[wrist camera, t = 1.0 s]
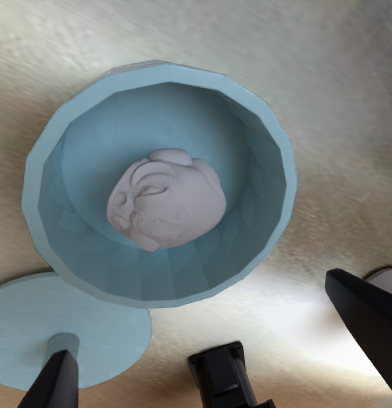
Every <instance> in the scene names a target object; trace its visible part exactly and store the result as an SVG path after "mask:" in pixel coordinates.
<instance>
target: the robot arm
mask: <svg viewBox="0 0 392 408" xmlns="http://www.w3.org/2000/svg"><path fill="white" fill-rule="evenodd" d="M325 291H326V293H327V295H328V297H329V298H330V300H331V302H332V303H333V305H334V307H335V308H336V310H337V312H338V313H339V315H340V317H341V319H342V320H343V322H344V324H345V325H346V327H347V329H348V330H349V332H350V333H351V335H352V336H353V338H354V339H355V341H356V342H357V343H358V345H359V346H360V347H361V349H362V350H363V351H364V353H365V354H366V356H367V357H368V358H369V360H370V361H371V362H372V364H373V365H374V367H375V368H376V369H377V371H378V372H379V373H380V375H381V376H382V378H383V379H384V380H385V382H386V383H387V384H388V386H389V387H390V388H391V390H392V294H391V293H389V292H387V291H385V290H383V289H381V288H379V287H377V286H375V285H373V284H371V283H369V282H367V281H365V280H363V279H361V278H358V277H356V276H354V275H352V274H350V273H348V272H346V271H344V270H342V269H339V268H335V269H332V270H329V271H327V273H326V280H325ZM188 361H189V365H190V368H191V372H192V375H193V378H194V381H195V384H196V387H197V388H198V389H199V390H200V395H201V400H202V404H203V408H276V407H275V405H274V403H273V401H272V399H269V400H267V402H264V403H261V404H259V405H258V403H257V401H256V398H255V395H254V393H253V390H252V387H251V384H250V382H249V379H248V376H247V374H246V367H245V359H244V351H243V345H242V343H241V342H236V343H233V344H230V345H227V346H224V347H221V348H217V349H214V350H211V351H208V352H205V353H202V354H198V355H195V356H192V357H190V358H189V359H188ZM78 387H79V368H78V363H77V361H76V360H75V358H74V357H73V356H72V354H71V353H70V351H69V350H67V349H64V350H60V351H57V352H55V353H53V354H52V355H51V357H50V358H49V360H48V361H47V363H46V364H45V366H44V367H43V369H42V370H41V372H40V373H39V375H38V376H37V378H36V379H35V381H34V382H33V384H32V386H31V387H30V389H29V390H28V392H27V393H26V395H25V396H24V398H23V399H22V401H21V402H20V404H19V405H18V407H17V408H78Z"/></svg>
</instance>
